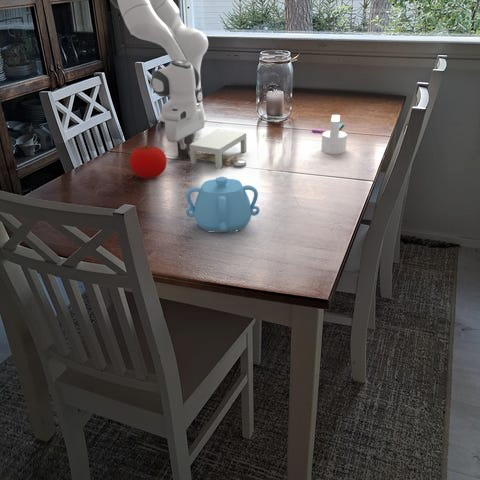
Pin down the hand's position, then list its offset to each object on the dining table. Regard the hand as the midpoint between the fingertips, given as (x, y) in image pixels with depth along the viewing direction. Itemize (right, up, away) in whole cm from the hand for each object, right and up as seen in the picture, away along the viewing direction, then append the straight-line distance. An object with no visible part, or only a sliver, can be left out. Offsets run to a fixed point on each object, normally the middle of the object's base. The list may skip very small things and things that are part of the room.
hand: (187, 146), depth 188 cm
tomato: (-11, -13, -15) cm, 22 cm away
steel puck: (+19, -8, -7) cm, 22 cm away
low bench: (+12, -4, 0) cm, 12 cm away
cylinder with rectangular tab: (+54, -1, +5) cm, 55 cm away
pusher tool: (+7, -5, -2) cm, 9 cm away
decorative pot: (+15, -30, -47) cm, 57 cm away
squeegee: (+53, +8, +22) cm, 58 cm away
